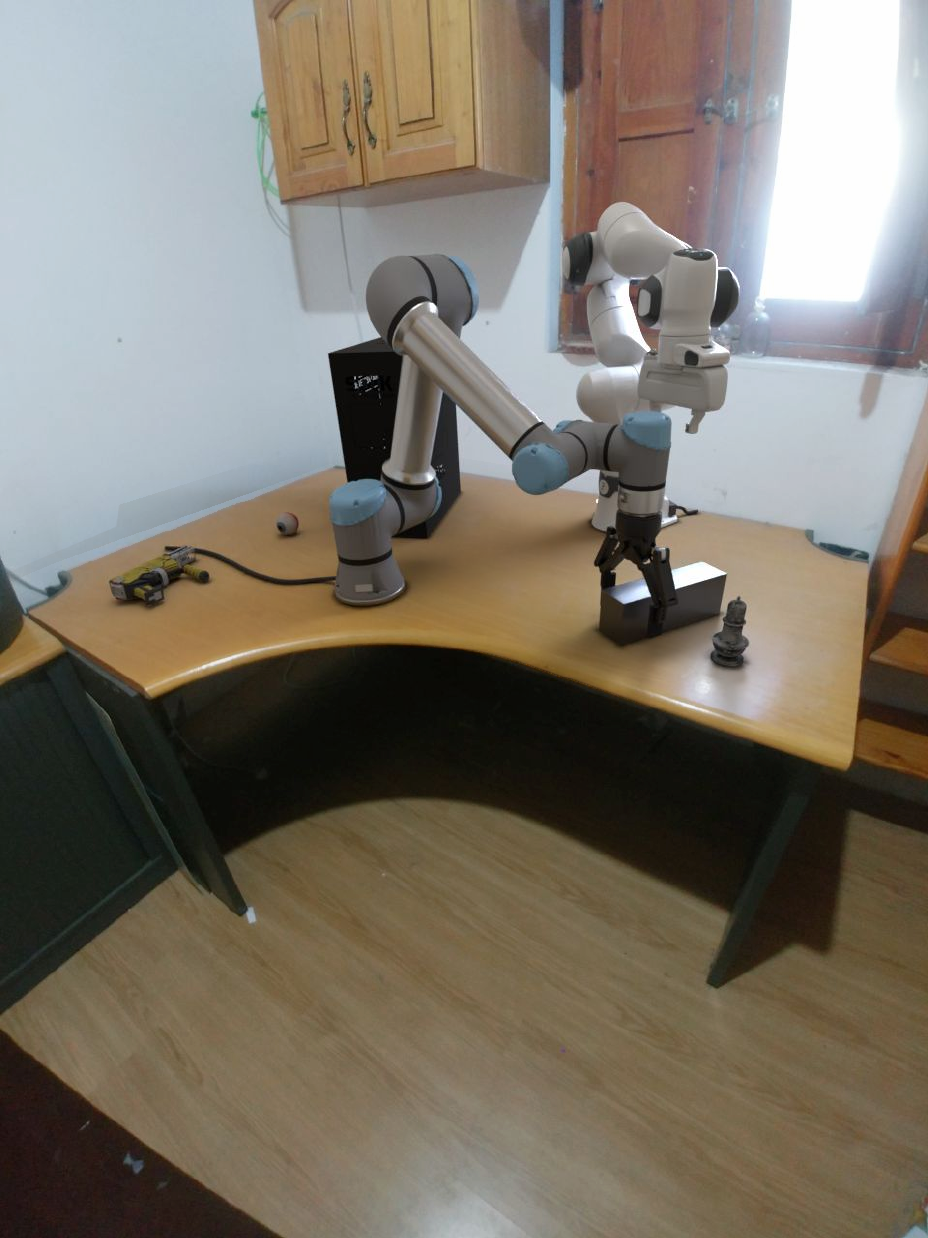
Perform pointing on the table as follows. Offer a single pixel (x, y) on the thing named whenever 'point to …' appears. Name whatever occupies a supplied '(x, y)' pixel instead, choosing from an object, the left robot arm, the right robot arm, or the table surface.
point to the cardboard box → (386, 422)
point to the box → (632, 600)
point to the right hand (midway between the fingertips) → (673, 428)
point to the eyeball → (287, 523)
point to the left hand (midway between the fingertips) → (629, 619)
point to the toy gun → (155, 576)
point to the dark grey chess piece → (731, 636)
